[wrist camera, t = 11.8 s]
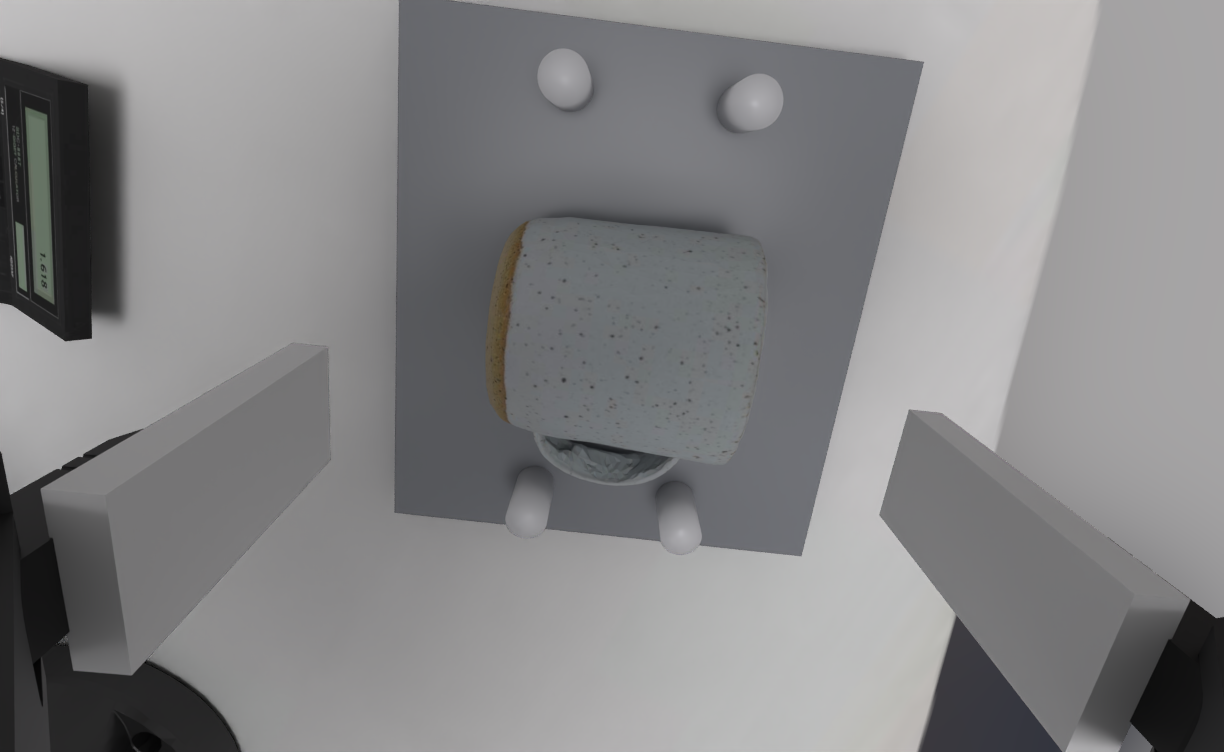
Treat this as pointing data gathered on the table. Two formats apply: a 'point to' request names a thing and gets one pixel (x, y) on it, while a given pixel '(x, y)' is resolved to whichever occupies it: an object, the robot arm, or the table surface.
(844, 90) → the pin tray
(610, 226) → the ceramic mug
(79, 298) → the calculator
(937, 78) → the table surface
